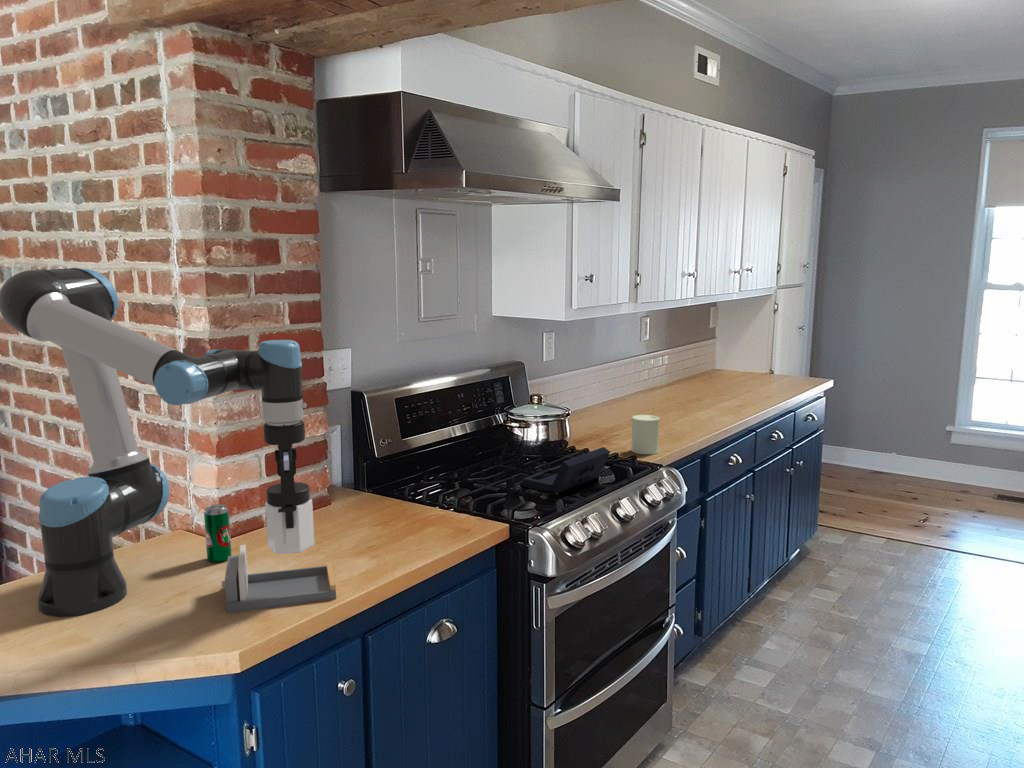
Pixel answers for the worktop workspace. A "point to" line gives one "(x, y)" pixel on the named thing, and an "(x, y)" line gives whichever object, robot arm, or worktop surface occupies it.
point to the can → (645, 434)
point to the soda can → (217, 533)
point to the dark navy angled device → (569, 472)
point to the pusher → (242, 574)
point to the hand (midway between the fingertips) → (290, 535)
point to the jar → (303, 519)
